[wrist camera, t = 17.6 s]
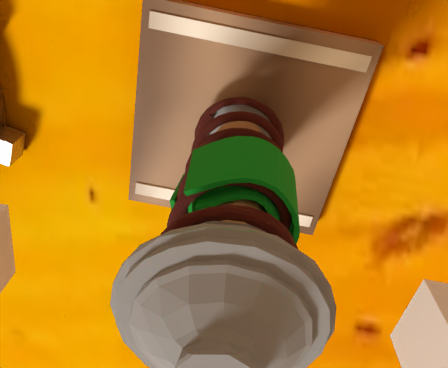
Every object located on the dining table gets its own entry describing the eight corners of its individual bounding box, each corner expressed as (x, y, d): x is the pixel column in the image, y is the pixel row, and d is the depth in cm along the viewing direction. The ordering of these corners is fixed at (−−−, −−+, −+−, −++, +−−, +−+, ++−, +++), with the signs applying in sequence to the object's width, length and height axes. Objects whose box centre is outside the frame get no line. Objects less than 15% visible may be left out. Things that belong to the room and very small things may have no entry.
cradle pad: (132, 191, 26) (128, 200, 26) (148, -7, 20) (142, -5, 19) (310, 225, 27) (312, 235, 26) (378, 41, 21) (384, 46, 20)
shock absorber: (160, 132, 23) (36, 371, 10) (239, 51, 20) (206, 231, 7) (240, 200, 25) (220, 473, 12) (320, 133, 22) (406, 390, 9)
